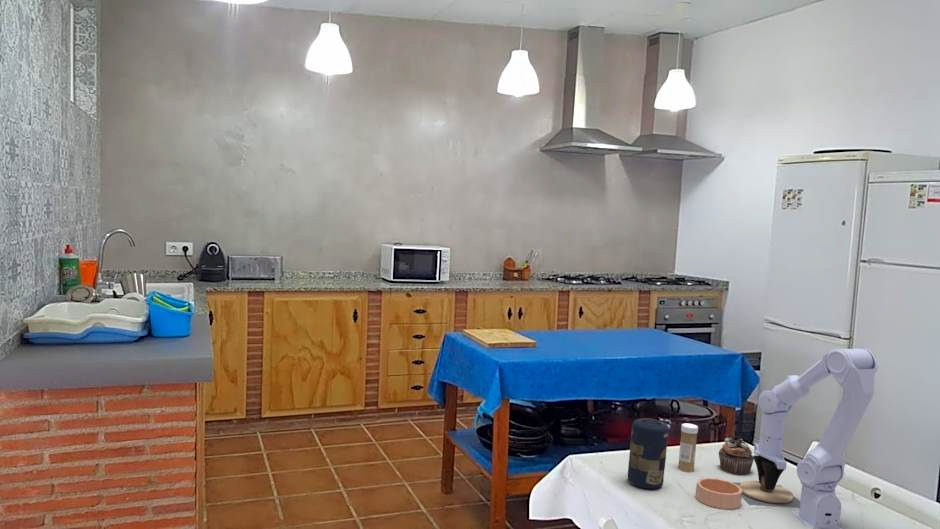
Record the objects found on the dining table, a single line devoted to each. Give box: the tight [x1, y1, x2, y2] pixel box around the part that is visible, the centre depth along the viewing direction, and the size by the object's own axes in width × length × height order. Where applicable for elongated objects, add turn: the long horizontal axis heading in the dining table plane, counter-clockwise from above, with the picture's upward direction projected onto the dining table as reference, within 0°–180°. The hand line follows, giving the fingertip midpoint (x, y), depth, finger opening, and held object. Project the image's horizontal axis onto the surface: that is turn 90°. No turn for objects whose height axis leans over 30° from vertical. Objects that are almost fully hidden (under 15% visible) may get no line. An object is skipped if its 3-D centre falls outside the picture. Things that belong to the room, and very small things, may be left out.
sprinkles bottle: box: [677, 422, 699, 473], centre depth 203 cm, size 5×5×13 cm
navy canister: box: [627, 417, 670, 489], centre depth 191 cm, size 10×10×18 cm
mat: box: [732, 481, 800, 509], centre depth 188 cm, size 15×15×1 cm
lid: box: [740, 475, 794, 503], centre depth 188 cm, size 13×13×4 cm
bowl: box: [695, 477, 743, 510], centre depth 182 cm, size 11×11×4 cm
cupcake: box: [718, 435, 755, 476], centre depth 206 cm, size 10×10×10 cm
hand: (766, 486), depth 188 cm, fingers closed on lid, 3 cm apart
